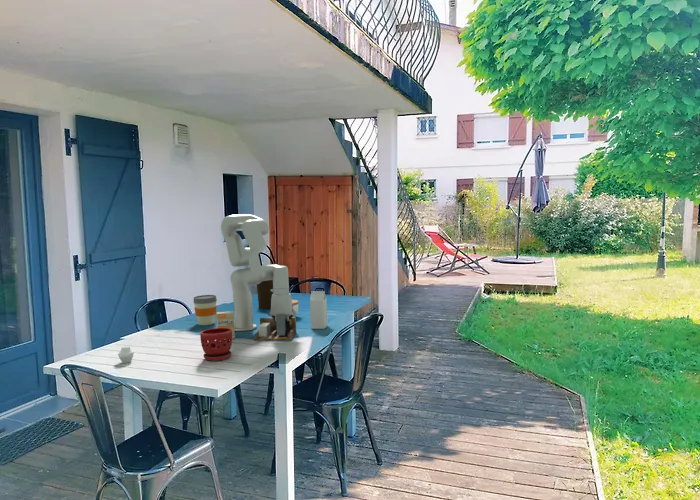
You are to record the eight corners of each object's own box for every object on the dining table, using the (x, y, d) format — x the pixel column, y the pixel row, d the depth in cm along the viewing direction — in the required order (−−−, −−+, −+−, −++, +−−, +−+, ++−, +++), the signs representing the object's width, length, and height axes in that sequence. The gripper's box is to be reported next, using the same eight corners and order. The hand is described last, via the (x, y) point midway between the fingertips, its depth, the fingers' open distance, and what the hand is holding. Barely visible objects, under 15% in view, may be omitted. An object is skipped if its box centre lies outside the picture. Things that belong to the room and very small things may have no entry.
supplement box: (217, 340, 248) (216, 313, 247) (217, 338, 253) (216, 312, 251) (235, 338, 250) (233, 312, 249) (234, 336, 255) (233, 310, 254)
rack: (253, 340, 245) (252, 324, 244) (261, 333, 259) (260, 317, 258) (290, 340, 243) (289, 323, 243) (296, 332, 257) (295, 317, 257)
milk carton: (324, 329, 263) (322, 292, 261) (311, 329, 264) (309, 292, 263) (327, 326, 270) (326, 290, 268) (314, 325, 271) (313, 290, 270)
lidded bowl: (273, 319, 290) (273, 300, 289) (282, 314, 303) (281, 296, 302) (295, 319, 287) (294, 300, 287) (302, 315, 300) (301, 296, 299)
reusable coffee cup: (214, 325, 281) (213, 298, 280) (191, 326, 281) (190, 299, 280) (220, 320, 294) (218, 294, 292) (198, 321, 294) (196, 295, 292)
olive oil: (277, 306, 327) (275, 267, 325) (263, 309, 320) (261, 269, 318) (268, 304, 335) (266, 266, 333) (254, 307, 328) (252, 268, 326)
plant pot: (239, 356, 220) (238, 329, 219) (213, 364, 210) (211, 335, 209) (221, 351, 228) (220, 325, 227) (195, 359, 218) (193, 331, 217)
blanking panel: (276, 335, 246) (275, 315, 245) (281, 330, 256) (280, 310, 255) (285, 335, 245) (284, 314, 245) (289, 330, 255) (288, 310, 254)
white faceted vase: (136, 359, 221) (135, 343, 220) (131, 364, 215) (130, 347, 214) (122, 360, 221) (121, 344, 220) (116, 364, 214) (114, 348, 214)
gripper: (262, 293, 246) (264, 330, 247) (296, 292, 244) (298, 330, 246) (266, 290, 253) (268, 326, 255) (299, 289, 252) (301, 326, 253)
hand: (283, 328), depth 250 cm, fingers closed on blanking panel, 3 cm apart
